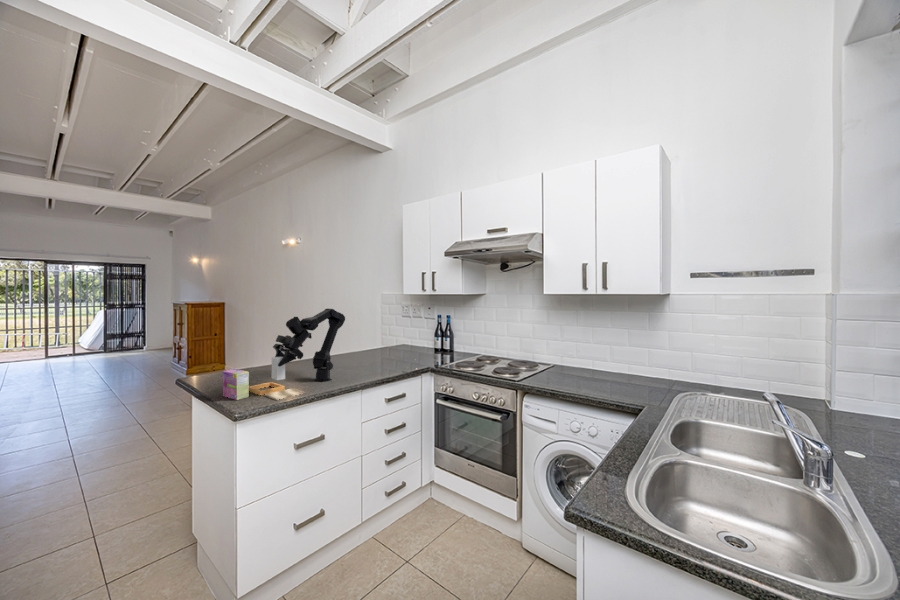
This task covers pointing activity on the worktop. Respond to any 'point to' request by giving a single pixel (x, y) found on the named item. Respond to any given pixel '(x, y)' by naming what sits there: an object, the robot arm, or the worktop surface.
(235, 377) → the box
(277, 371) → the block
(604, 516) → the worktop surface
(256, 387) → the square wooden frame
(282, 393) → the board
